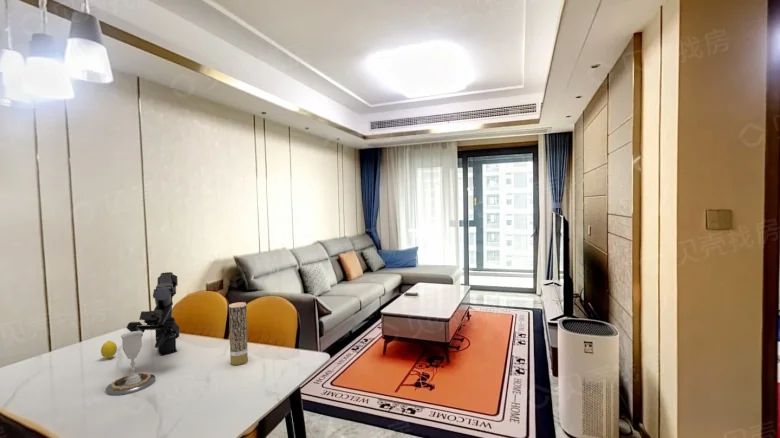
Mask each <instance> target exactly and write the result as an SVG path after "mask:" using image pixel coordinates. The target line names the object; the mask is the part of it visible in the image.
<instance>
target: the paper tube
mask: <svg viewBox="0 0 780 438" xmlns="http://www.w3.org/2000/svg"><path fill="white" fill-rule="evenodd" d="M247 313H248V312H247V302H245V301H244V302H243V301H241V302H239V301H238V302H233V303H230V304H229V305H228V314H229V315H228V317H229V320H228V321H229V352H230V353H229V355H230V357H229V358H230V364H231V365H233V366H241V365H243V364H244V365H245V363H247V362H248V359H249V357H248V354H249V353H248V350H249V349H248V321H247V320H248V317H247V316H248V314H247Z"/></svg>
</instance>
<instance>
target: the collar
mask: <svg viewBox="0 0 780 438" xmlns="http://www.w3.org/2000/svg"><path fill="white" fill-rule="evenodd" d="M135 373H136V374H138V375H139V376H140V378H141V381H140V382H138V383H135V384H131V385H126V384H125V382H126V380H127V378H128V376H130V375H131V373H130V374H127V375H123V376H121V377H119V378H117V379H115V380H113V381H112V382H111V383H109V384H108V385H107V386H106V388H105V393H106V395H108V396H125V395H129V394H134V393H136V392H137V393H138V392H140V391H143V390H144V389H146V388H149V387H150V386H152V385H154V383H155V382H156V380H157V379H156V375H155V374H152V373H149V372H135Z"/></svg>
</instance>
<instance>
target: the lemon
mask: <svg viewBox="0 0 780 438" xmlns="http://www.w3.org/2000/svg"><path fill="white" fill-rule="evenodd" d="M117 351H118V346H117V344H116V342H114V341H111V340H107V341H106V342H105V343H103V344H102V345H101V349H100V354H101V356H102V357H103V358H105V359H111V358H112V357H114V356H115V355H116V353H117Z"/></svg>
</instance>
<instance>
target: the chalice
mask: <svg viewBox="0 0 780 438" xmlns="http://www.w3.org/2000/svg"><path fill="white" fill-rule="evenodd" d="M142 334H143V335H144V332H142V331H133V332H130V331H128V332H125V333H122V334H121V335H120V337H121V341H122V345H121V346H122V351H123V353H124V354H125V356H126V357H127V359H128V360H130V364H129V365H130V366H131V367H130V371H131V373H130V374H131V375H130V374H129V375H130V376H128V378H127V380H126V382H125V384H126V385H131V384H135V383H138V382H140V381H141V378H140V376H139V375H138V374H136V373H137V372H135V370H136V369H137V368H136V367H135V365H136V363H135V359H136V358H138V356H139V353H140V352H141V349H142V346H143V345H142V344H143V343H142V342H143V341H142V339H143V336H142Z"/></svg>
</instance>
